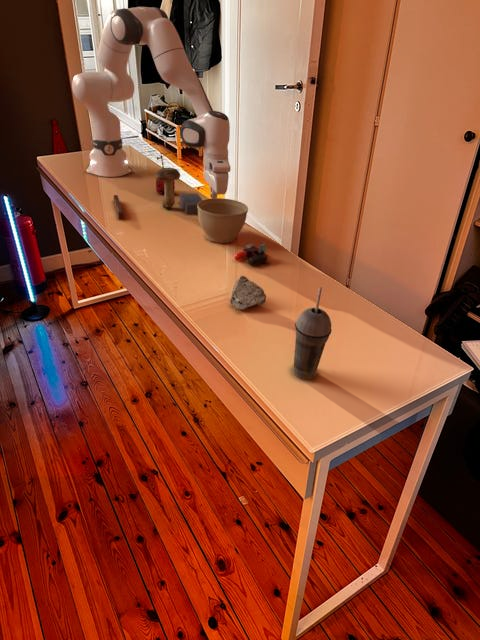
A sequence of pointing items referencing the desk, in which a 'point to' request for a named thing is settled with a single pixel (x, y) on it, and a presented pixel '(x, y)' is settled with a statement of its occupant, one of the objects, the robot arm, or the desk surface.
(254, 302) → the rock sample
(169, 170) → the mushroom
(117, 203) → the ledge
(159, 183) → the red clay folk toy
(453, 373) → the desk surface
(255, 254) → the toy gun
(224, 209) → the planter bowl
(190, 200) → the block
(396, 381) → the desk surface
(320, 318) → the beverage cup
